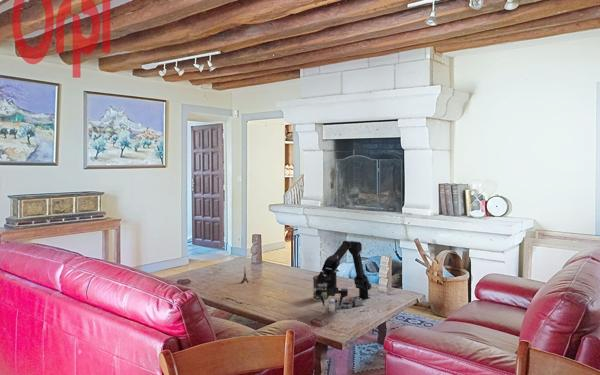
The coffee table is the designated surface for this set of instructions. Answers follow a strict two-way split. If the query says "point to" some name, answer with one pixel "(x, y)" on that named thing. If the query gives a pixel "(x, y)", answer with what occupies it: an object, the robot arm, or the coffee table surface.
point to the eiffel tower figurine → (244, 277)
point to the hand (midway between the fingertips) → (331, 306)
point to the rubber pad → (331, 313)
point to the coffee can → (318, 285)
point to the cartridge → (331, 305)
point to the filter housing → (349, 304)
